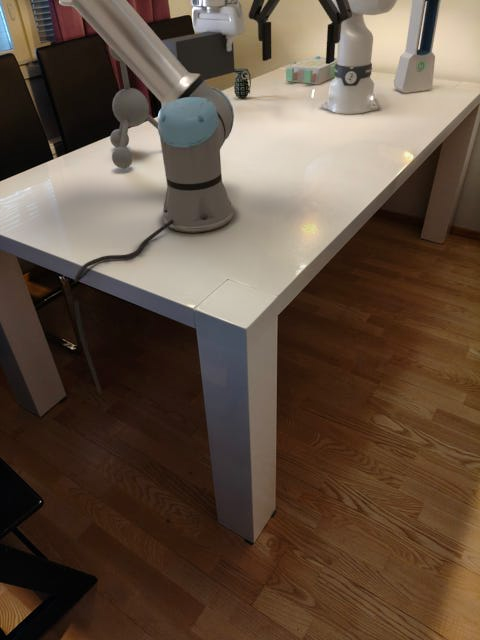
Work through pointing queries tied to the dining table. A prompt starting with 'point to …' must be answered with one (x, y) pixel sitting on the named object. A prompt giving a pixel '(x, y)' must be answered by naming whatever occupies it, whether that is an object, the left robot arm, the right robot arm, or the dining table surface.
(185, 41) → the box
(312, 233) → the dining table surface
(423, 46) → the electronic device
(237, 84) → the grenade
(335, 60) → the decorative block
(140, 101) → the molecular model
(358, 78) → the right robot arm
